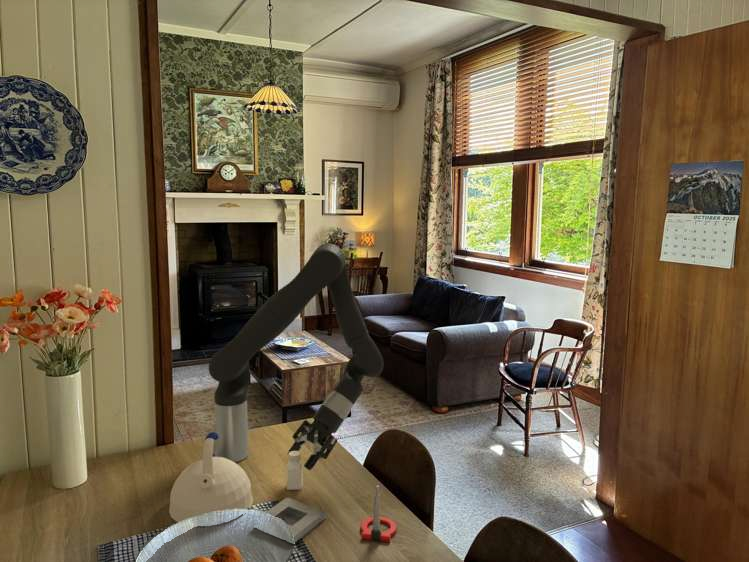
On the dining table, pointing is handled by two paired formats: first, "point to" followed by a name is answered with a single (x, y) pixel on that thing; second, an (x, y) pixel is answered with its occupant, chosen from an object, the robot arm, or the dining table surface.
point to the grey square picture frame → (298, 516)
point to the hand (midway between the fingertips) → (298, 462)
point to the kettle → (209, 485)
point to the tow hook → (377, 524)
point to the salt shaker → (294, 471)
